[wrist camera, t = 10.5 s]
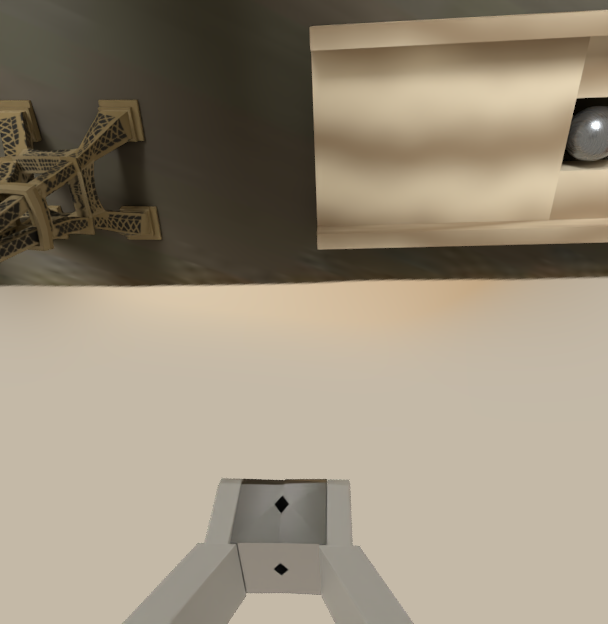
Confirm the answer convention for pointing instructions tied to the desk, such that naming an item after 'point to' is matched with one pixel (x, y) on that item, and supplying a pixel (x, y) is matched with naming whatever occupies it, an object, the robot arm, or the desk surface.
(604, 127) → the steel ball
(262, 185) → the desk surface
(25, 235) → the eiffel tower
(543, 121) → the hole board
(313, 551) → the robot arm
